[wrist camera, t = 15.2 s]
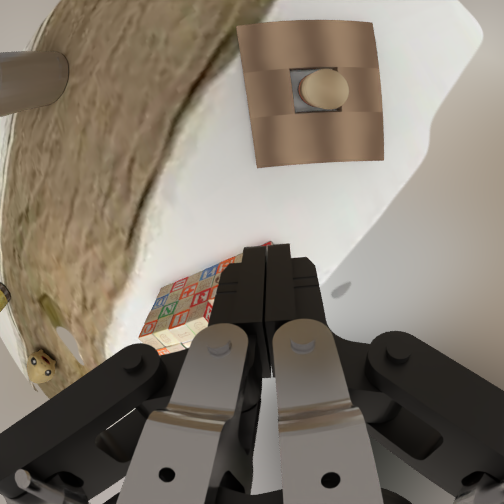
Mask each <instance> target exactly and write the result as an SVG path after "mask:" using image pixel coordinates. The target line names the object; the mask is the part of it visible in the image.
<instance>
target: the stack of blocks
mask: <svg viewBox="0 0 504 504" xmlns="http://www.w3.org/2000/svg"><path fill="white" fill-rule="evenodd" d="M268 245H273V243H272V242H268V243H266V244H264V245H262V246H266V247H267V248H268ZM242 256H243V253H242V254H239V255H237V256H236V257H232V258H230V259H228V260H225V261H223V262H221V263H219V264H217V265H215V266H212V267H210V268H208V269H205V270H204V271H201V272H199V273H197V274H194V275H192V276H190V277H186V278H184V279H182V280H179V281H177V282H175V283H172V284H170V285H167V286H165V287H163V288H161V290H160V292H159V294H158V296H157V299H156V301H155V303H154V305H153V307H152V309H151V311H150V313H149V315H148V317H147V319H146V321H145V323H144V324H145V325H144V327H143V329H142V331H141V333H140V335H139V339H140V340H141V341H142V342H143V343H144V344H148V345H151V346H152V347H154V348H155V349H156V350H157V352H158V354H159V355H164V354H168V353H173V352H177V351H181V350H184V349H186V348H189V347H190V345H191V342H192V340H193V338H194V337H195V336H196V335H197V334H198V333H199V332H200V331H201V330H203V329H204V328H206V327H208V323H209V319H210V315H211V311H212V307H213V303H214V299H215V295H216V291H217V287H218V285H219V284H218V283H219V279H220V275H221V272H222V271H223V270H224V269H225V268H226V267H227V266H228V265H229V263H240V262H242Z"/></svg>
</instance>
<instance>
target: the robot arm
mask: <svg viewBox="0 0 504 504" xmlns="http://www.w3.org/2000/svg"><path fill="white" fill-rule="evenodd" d="M68 73H69V71H68V63H67V60H66V58H65V57H64V56H63V54H61V53H59V52H54V51H21V52H3V53H0V117H3V116H6V115H9V114H13V113H17V112H20V111H24V110H28V109H33V108H37V107H41V106H46V105H50V104H52V103H54V102H55V101H56V100H57V99H58V98H59V97H60V96H61V94H62V93H63V91H64V89H65V86H66V84H67V80H68ZM218 284H219V285H218V287H217V291H216V295H215V299H214V303H213V307H212V311H211V315H210V319H209V323H208V327H206V328H204V329H203V330H201V331H200V332H199V333H198V334H197V335H196V336H195V337H194V338H193V340H192V342H191V345H190V347H189V348H186V349H184V350H181V351H177V352H173V353H168V354H164V355H159V354H158V352H157V350H156V349H155V348H154V347H152V346H151V345H148V344H143V343H138V344H132V345H129V346H127V347H125V348H123V349H122V350H120V351H119V352H117V353H116V354H114V355H113V356H112V357H110V358H109V359H107V360H106V361H104V362H103V363H102V364H100V365H99V366H97V367H96V368H94V369H93V370H91V371H90V372H89V373H87V374H86V375H84V376H83V377H81V378H80V379H79V380H77V381H76V382H74V383H73V384H71V385H70V386H68V387H67V388H66V389H64V390H63V391H61V392H60V393H58V394H57V395H56V396H54V397H53V398H51V399H50V400H48V401H47V402H45V403H44V404H43V405H41V406H40V407H38V408H37V409H35V410H34V411H32V412H31V413H30V414H28V415H27V416H25V417H24V418H22V419H21V420H19V421H18V422H16V423H15V424H14V425H12V426H11V427H9V428H8V429H6V430H5V431H3V432H2V433H0V494H1V495H3V496H4V498H5V499H6V502H7V504H91V503H89V502H88V501H89V500H90V499H92V498H93V497H95V496H96V495H98V494H100V493H101V492H102V491H104V490H105V489H107V488H109V487H110V486H112V485H113V484H114V483H116V482H118V481H119V480H120V479H122V478H123V477H125V476H126V477H125V480H124V482H123V485H122V488H121V491H120V492H119V493H117V494H116V495H114V496H113V497H112V498H110V499H109V500H107V501H106V502H105V503H103V504H412V503H411V502H410V501H408V500H407V499H405V498H404V497H402V496H400V495H398V494H397V493H394V492H392V491H389V490H387V489H383V488H380V484H379V479H378V475H377V470H376V465H375V461H374V457H373V452H372V449H371V444H370V440H369V436H368V434H369V435H370V436H371V437H372V438H374V439H375V440H376V441H378V442H379V443H380V444H381V445H383V446H384V447H385V448H387V449H388V450H389V451H390V452H392V453H393V454H395V455H396V456H397V457H398V458H400V459H401V460H403V461H404V462H405V463H407V464H408V465H409V466H411V467H412V468H414V469H415V470H416V471H418V472H419V473H420V474H422V475H423V476H425V477H426V478H428V479H429V480H431V481H432V482H433V483H435V484H436V485H438V486H439V487H441V488H442V489H444V490H445V491H447V492H448V493H450V494H451V495H453V496H454V497H455V500H454V502H453V504H504V391H503V390H501V389H500V388H498V387H496V386H495V385H493V384H491V383H490V382H488V381H487V380H485V379H483V378H482V377H480V376H479V375H477V374H475V373H474V372H472V371H470V370H469V369H467V368H465V367H464V366H462V365H461V364H459V363H457V362H456V361H454V360H452V359H451V358H449V357H447V356H446V355H444V354H443V353H441V352H439V351H438V350H436V349H434V348H433V347H431V346H429V345H428V344H426V343H424V342H423V341H421V340H419V339H418V338H416V337H414V336H413V335H411V334H408V333H406V332H401V331H390V332H385V333H383V334H380V335H379V336H377V337H376V338H375V339H374V340H373V341H372V342H371V344H366V343H359V342H352V341H348V340H345V339H342V338H340V337H339V336H337V335H335V334H334V333H333V332H332V331H331V330H330V328H329V327H328V325H327V322H326V318H325V313H324V307H323V302H322V297H321V292H320V287H319V282H318V278H317V273H316V268H315V265H314V264H313V263H312V262H311V261H310V260H309V259H308V258H307V257H301V258H291V254H290V244H277V245H268V248H267V247H266V246H254V247H244V250H243V256H242V262H240V263H229V265H228V266H227V267H226V268H225V269H224V270H223V271H222V272H221V275H220V279H219V283H218ZM271 366H272V373H273V377H275V378H276V390H277V403H278V415H279V416H278V428H279V443H280V457H281V472H282V487H283V489H281V490H277V491H273V492H268V493H263V494H258V495H250V494H251V488H252V481H253V453H254V447H255V441H256V434H257V428H258V421H259V413H260V407H261V391H262V378H271ZM134 408H136V409H135V410H133V409H134ZM132 410H133V411H132ZM130 411H132V412H131V413H129V412H130ZM128 413H129V414H128ZM126 414H128V415H127V416H125V415H126ZM124 416H125V417H124ZM122 417H124V418H123V419H121V418H122ZM119 419H121V420H120V421H119V422H117V421H118V420H119ZM115 422H117V423H116V424H114V423H115ZM113 424H114V425H113ZM111 425H113V426H112V427H110V426H111ZM108 427H110V428H109V429H107V428H108ZM106 429H107V430H106Z"/></svg>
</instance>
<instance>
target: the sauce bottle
mask: <svg viewBox="0 0 504 504" xmlns="http://www.w3.org/2000/svg"><path fill="white" fill-rule="evenodd" d="M9 301H10V294H9V292H8V290H7V289H6V288H5V286H3V285H2V284H1V283H0V312H1V311H2V309H3V308H4V307H5V306H6V304H7V303H8V302H9Z"/></svg>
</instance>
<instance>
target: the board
mask: <svg viewBox="0 0 504 504" xmlns="http://www.w3.org/2000/svg"><path fill="white" fill-rule="evenodd" d="M236 29H237V35H238V41H239V48H240V54H241V61H242V67H243V74H244V80H245V87H246V94H247V101H248V108H249V114H250V121H251V129H252V136H253V143H254V150H255V157H256V165H257V168H264V167H274V166H284V165H296V164H310V163H326V162H346V161H382V160H384V133H383V110H382V95H381V83H380V73H379V64H378V56H377V49H376V42H375V36H374V30H373V24H372V23H370V22H359V21H342V20H295V21H278V22H266V23H257V24H249V25H241V26H236ZM310 69H332V70H334V71H337V72H338V73H340V74H341V75H342V76H343V77H344V78H345V80H346V81H347V84H348V87H349V94H348V98H347V100H346V101H345V103H344V104H343V105H342V106H340V107H338V108H336V109H337V110H335V111H310V112H295V110H294V101H293V93H292V85H291V78H290V71H291V70H310Z"/></svg>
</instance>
